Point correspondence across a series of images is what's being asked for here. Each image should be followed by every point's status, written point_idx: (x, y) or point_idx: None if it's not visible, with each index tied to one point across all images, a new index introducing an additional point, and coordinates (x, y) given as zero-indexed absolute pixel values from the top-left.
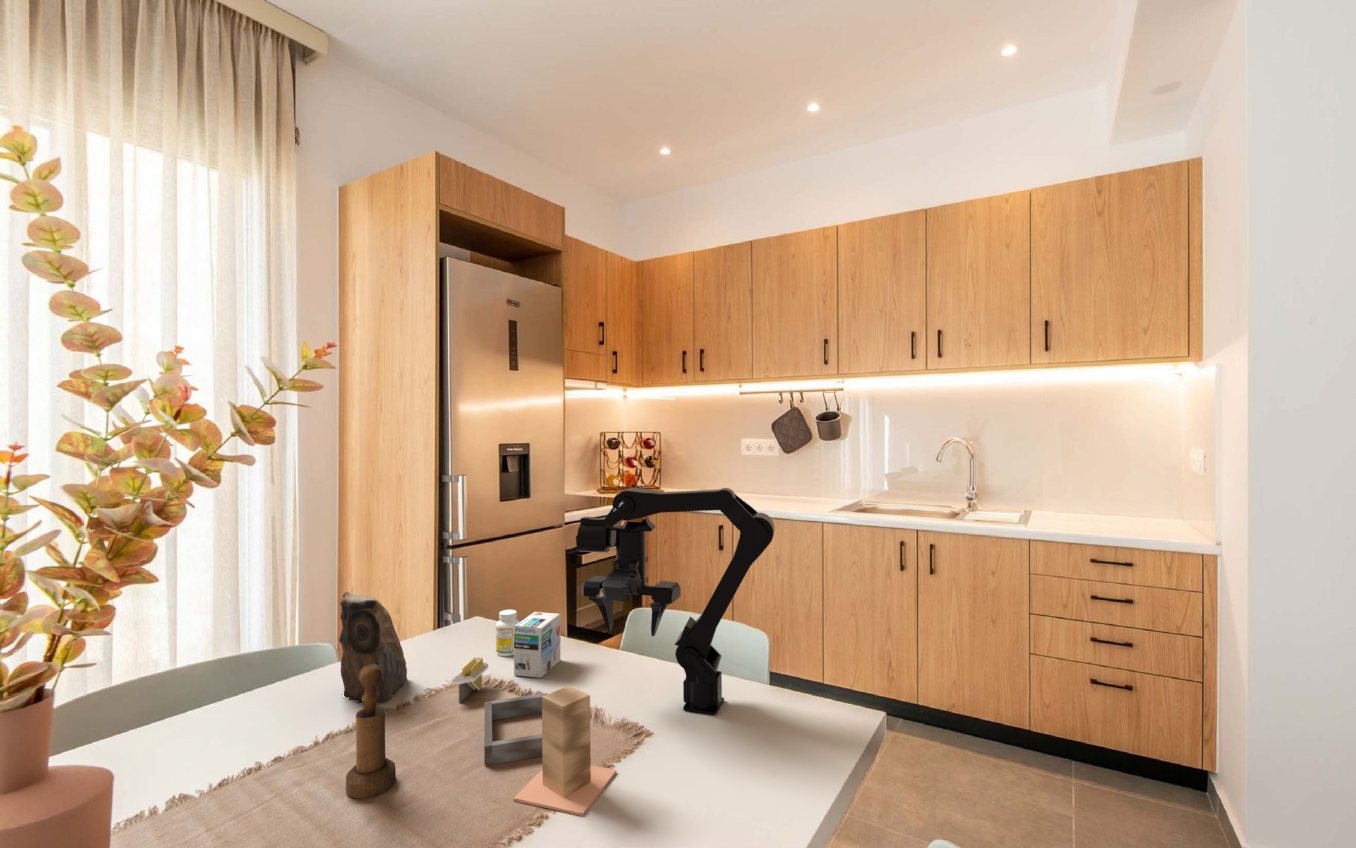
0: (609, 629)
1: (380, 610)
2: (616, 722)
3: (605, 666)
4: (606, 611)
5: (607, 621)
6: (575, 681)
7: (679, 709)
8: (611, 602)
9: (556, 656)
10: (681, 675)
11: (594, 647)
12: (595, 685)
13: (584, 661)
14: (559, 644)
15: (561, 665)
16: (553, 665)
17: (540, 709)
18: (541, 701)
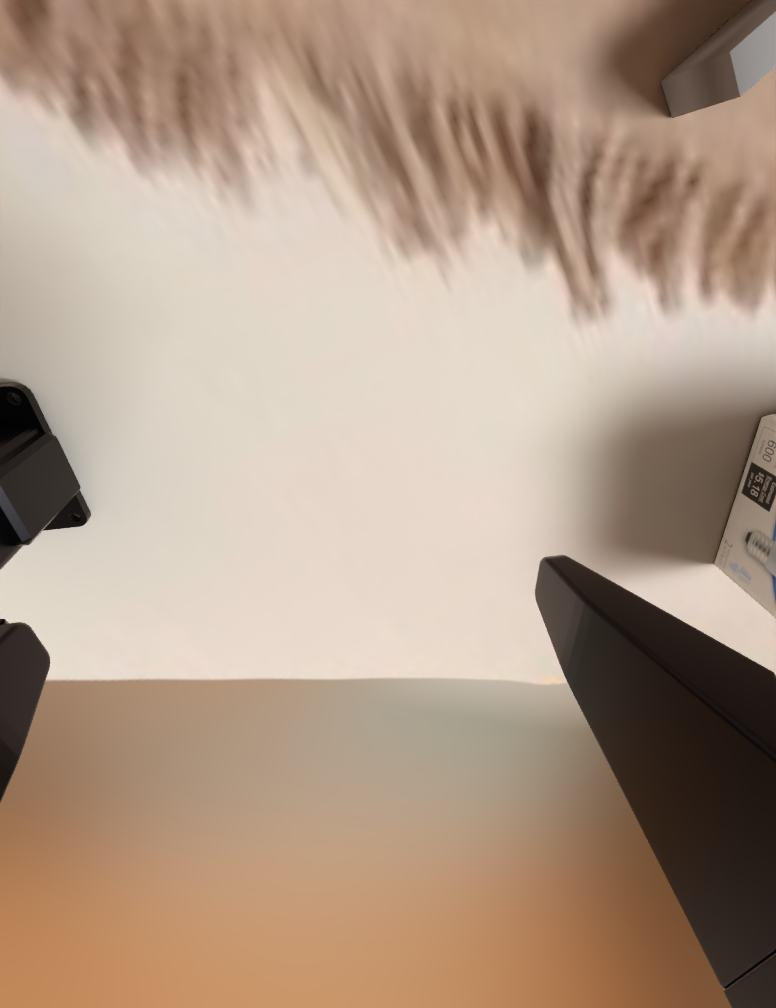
0: (554, 567)
1: None
2: (246, 113)
3: None
4: (771, 766)
5: (630, 625)
6: (615, 448)
7: (57, 391)
8: (765, 990)
9: (746, 552)
10: (252, 632)
11: None
12: (523, 449)
13: (627, 589)
14: (768, 600)
15: (701, 536)
16: (734, 515)
17: (712, 40)
18: (743, 30)
